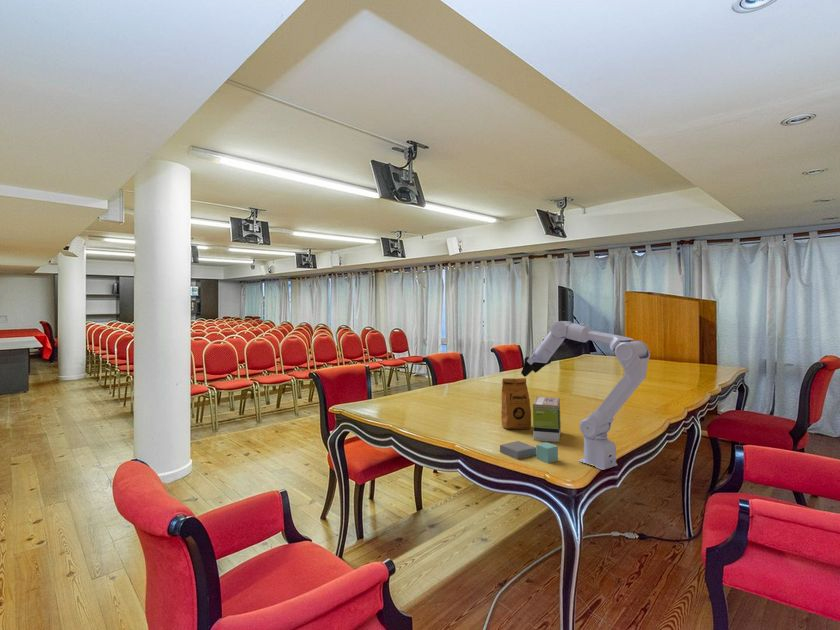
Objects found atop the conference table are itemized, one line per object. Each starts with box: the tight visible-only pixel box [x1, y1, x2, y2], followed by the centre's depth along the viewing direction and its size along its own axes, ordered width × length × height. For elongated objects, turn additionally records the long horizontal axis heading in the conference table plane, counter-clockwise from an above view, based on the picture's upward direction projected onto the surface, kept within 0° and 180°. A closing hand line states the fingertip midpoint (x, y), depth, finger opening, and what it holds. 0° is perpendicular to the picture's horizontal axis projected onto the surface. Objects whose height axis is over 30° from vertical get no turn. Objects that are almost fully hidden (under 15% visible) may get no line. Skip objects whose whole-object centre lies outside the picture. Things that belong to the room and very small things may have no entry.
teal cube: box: [535, 441, 559, 464], centre depth 141 cm, size 5×5×5 cm
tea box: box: [532, 396, 562, 443], centre depth 168 cm, size 15×10×15 cm, turn 159°
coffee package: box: [500, 377, 532, 430], centre depth 181 cm, size 10×12×22 cm
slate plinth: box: [499, 440, 536, 460], centre depth 148 cm, size 9×9×3 cm
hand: (528, 372), depth 158 cm, fingers open, 7 cm apart
